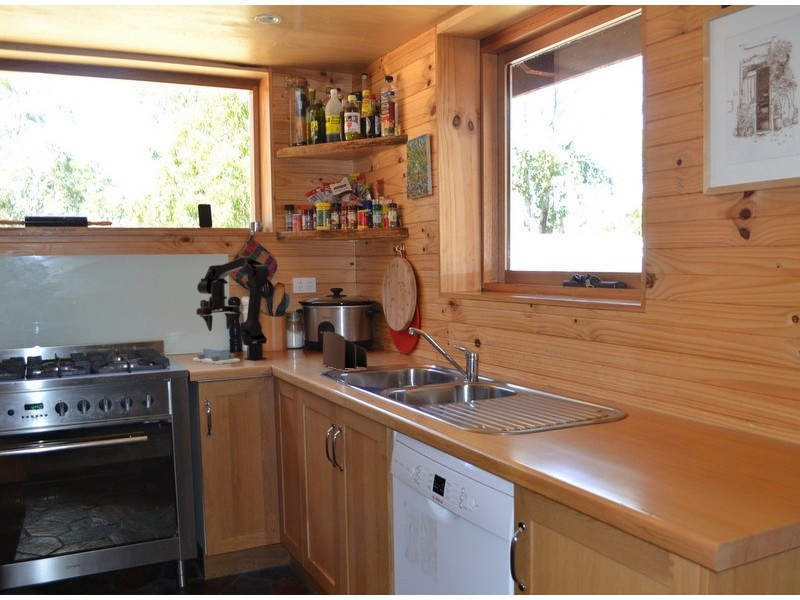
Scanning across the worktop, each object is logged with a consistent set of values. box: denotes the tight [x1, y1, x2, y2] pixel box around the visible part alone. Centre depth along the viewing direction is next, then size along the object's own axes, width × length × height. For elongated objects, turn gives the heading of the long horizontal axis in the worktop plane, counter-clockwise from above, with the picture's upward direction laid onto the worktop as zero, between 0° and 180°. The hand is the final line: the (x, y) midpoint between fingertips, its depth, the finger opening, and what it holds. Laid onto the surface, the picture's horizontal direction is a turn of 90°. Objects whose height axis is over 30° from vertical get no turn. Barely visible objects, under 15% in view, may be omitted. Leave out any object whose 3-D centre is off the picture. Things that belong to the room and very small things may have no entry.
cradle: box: [192, 353, 241, 365], centre depth 296 cm, size 18×10×3 cm, turn 49°
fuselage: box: [202, 346, 230, 360], centre depth 297 cm, size 14×4×4 cm, turn 49°
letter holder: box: [322, 331, 368, 370], centre depth 273 cm, size 10×20×14 cm, turn 29°
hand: (219, 330), depth 312 cm, fingers open, 9 cm apart
